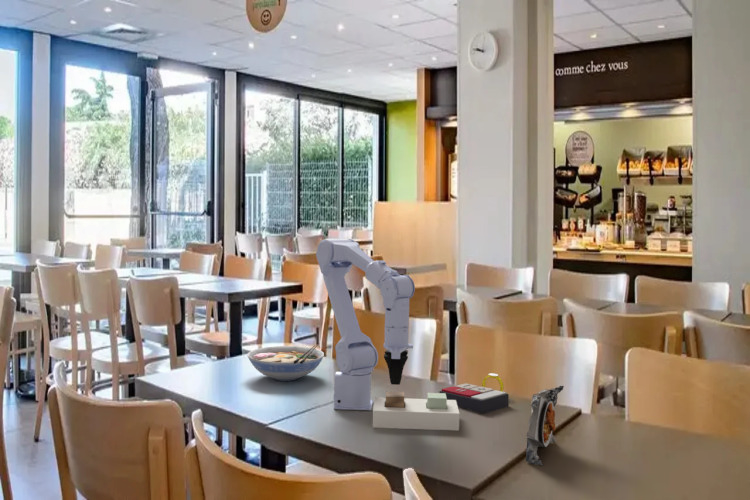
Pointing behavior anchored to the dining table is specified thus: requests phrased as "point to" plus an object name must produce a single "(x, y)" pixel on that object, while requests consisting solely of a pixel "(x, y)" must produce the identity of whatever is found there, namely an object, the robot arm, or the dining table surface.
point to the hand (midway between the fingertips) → (395, 382)
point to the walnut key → (395, 399)
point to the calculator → (477, 398)
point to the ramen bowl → (285, 361)
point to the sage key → (436, 401)
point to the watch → (493, 377)
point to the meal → (541, 422)
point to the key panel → (415, 415)
